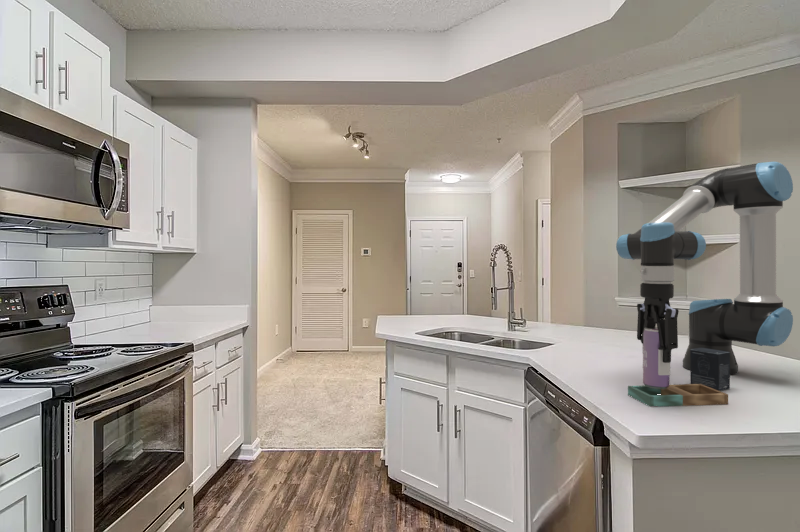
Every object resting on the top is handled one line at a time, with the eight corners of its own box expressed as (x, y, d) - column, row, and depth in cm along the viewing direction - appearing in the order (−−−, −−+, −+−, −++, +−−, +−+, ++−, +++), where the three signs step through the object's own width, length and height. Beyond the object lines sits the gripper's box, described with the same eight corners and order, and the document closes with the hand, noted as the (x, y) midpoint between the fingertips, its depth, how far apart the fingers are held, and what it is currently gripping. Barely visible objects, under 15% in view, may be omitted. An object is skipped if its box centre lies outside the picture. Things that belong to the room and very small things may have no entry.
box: (730, 389, 128) (730, 351, 128) (718, 392, 126) (718, 353, 126) (701, 382, 135) (701, 346, 135) (689, 384, 133) (689, 348, 133)
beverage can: (673, 390, 115) (673, 330, 115) (647, 389, 116) (647, 330, 116) (664, 383, 121) (664, 327, 121) (640, 382, 122) (640, 326, 122)
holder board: (700, 392, 125) (700, 383, 125) (728, 404, 115) (728, 394, 115) (627, 395, 123) (627, 385, 123) (649, 406, 114) (649, 396, 114)
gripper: (622, 280, 127) (622, 363, 128) (666, 284, 109) (665, 381, 109) (648, 280, 128) (647, 363, 128) (696, 284, 109) (695, 381, 110)
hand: (656, 371), depth 119 cm, fingers closed on beverage can, 6 cm apart
